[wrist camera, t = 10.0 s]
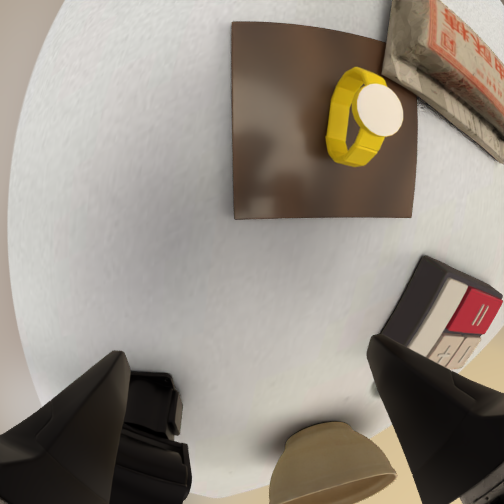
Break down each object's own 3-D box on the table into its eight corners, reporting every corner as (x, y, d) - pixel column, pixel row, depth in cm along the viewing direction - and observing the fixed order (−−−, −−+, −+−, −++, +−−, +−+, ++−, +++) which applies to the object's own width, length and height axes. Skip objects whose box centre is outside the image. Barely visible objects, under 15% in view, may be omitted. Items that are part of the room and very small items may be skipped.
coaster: (234, 217, 19) (234, 220, 18) (231, 25, 14) (231, 21, 13) (406, 215, 20) (411, 218, 19) (407, 53, 15) (413, 51, 14)
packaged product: (418, 64, 11) (421, -32, 7) (376, 77, 15) (388, -12, 12) (532, 174, 14) (537, 90, 11) (499, 165, 19) (506, 89, 16)
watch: (348, 166, 18) (394, 177, 12) (310, 157, 17) (346, 164, 12) (360, 86, 16) (409, 70, 10) (323, 74, 15) (363, 50, 10)
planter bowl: (288, 402, 27) (307, 486, 17) (391, 403, 30) (422, 462, 20) (244, 460, 33) (250, 520, 22) (335, 458, 36) (350, 508, 26)
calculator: (461, 372, 25) (388, 378, 21) (444, 352, 29) (369, 350, 25) (507, 298, 21) (453, 274, 18) (486, 282, 25) (422, 253, 22)
